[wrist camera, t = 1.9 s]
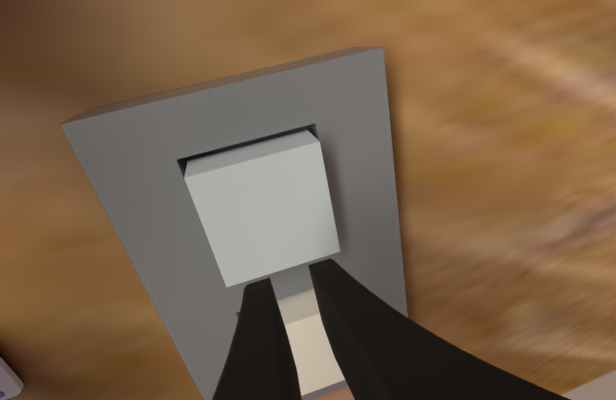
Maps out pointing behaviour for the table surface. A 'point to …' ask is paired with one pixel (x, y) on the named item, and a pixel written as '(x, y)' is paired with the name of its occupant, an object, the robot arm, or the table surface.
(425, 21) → the table surface
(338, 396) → the terracotta key
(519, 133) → the table surface
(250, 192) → the pale blue key
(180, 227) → the key console
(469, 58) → the table surface
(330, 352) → the off-white key
